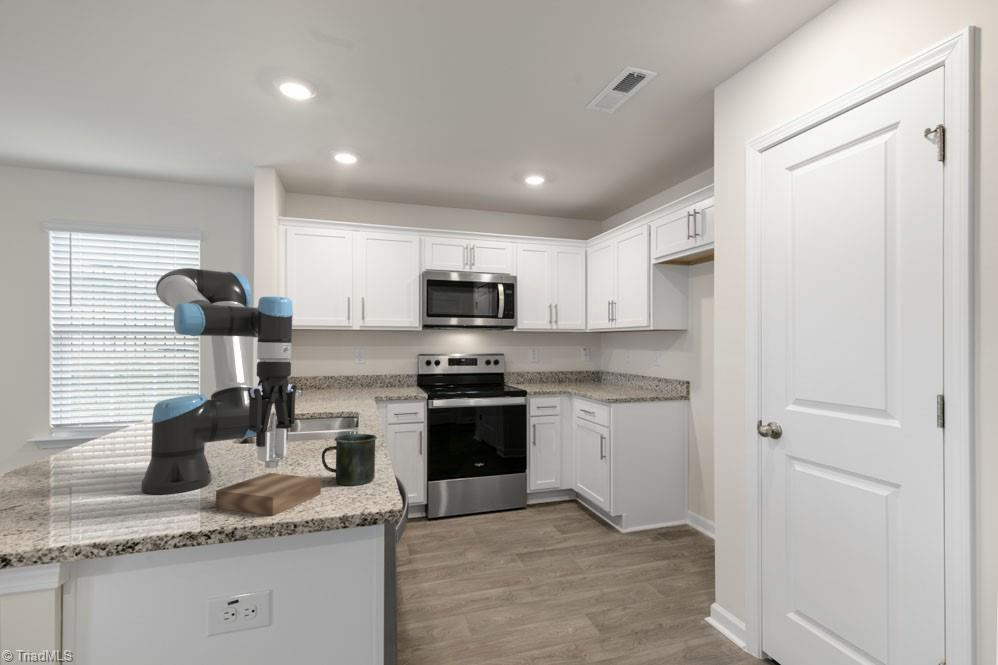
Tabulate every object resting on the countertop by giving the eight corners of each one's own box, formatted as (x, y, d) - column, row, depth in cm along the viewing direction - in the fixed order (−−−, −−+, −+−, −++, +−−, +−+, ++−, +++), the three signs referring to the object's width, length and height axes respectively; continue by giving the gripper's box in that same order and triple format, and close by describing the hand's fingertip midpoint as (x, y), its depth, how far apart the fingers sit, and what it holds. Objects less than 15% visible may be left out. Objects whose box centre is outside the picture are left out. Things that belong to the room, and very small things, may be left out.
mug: (379, 483, 127) (380, 439, 127) (322, 490, 121) (323, 443, 121) (372, 473, 137) (373, 432, 137) (319, 479, 130) (320, 436, 131)
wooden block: (215, 508, 107) (216, 490, 107) (268, 488, 122) (269, 472, 122) (272, 515, 102) (273, 497, 102) (320, 494, 117) (320, 478, 117)
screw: (259, 465, 113) (281, 463, 115) (261, 470, 109) (284, 467, 111) (260, 411, 113) (282, 410, 116) (263, 414, 109) (285, 412, 112)
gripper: (258, 361, 103) (255, 467, 103) (312, 360, 120) (310, 451, 120) (231, 361, 106) (228, 465, 105) (288, 359, 123) (285, 449, 122)
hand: (271, 457), depth 112 cm, fingers closed on screw, 5 cm apart
